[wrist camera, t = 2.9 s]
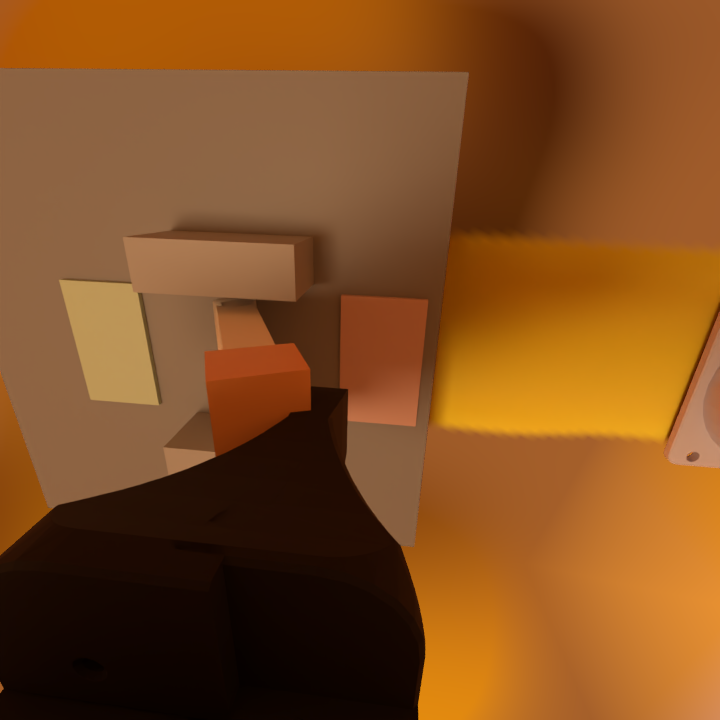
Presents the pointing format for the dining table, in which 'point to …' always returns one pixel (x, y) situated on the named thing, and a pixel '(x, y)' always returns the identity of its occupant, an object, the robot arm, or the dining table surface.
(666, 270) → the dining table surface
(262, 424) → the toggle lever
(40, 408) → the panel
